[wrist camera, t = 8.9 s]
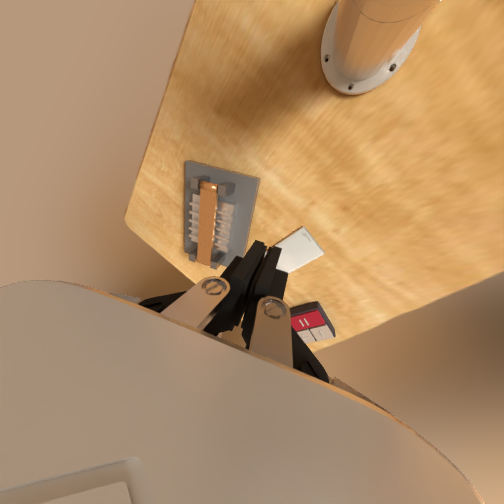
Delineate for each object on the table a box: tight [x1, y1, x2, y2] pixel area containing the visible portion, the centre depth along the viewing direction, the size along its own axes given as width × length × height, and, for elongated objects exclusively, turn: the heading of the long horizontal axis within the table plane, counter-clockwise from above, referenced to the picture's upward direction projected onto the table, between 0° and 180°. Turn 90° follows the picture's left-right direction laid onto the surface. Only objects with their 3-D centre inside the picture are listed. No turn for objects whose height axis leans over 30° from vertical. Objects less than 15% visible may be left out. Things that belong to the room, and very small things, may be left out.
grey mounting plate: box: [185, 160, 260, 267], centre depth 47 cm, size 24×17×2 cm
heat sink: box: [189, 175, 238, 269], centre depth 43 cm, size 20×10×5 cm, turn 169°
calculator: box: [290, 301, 336, 344], centre depth 53 cm, size 11×4×15 cm
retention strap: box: [197, 181, 218, 266], centre depth 42 cm, size 20×4×2 cm, turn 169°
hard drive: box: [264, 226, 325, 274], centre depth 46 cm, size 2×8×12 cm
